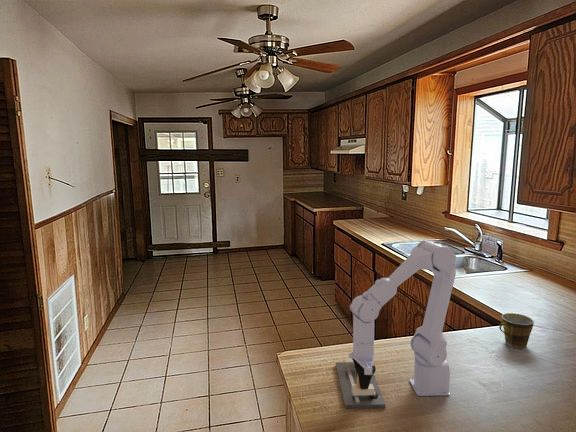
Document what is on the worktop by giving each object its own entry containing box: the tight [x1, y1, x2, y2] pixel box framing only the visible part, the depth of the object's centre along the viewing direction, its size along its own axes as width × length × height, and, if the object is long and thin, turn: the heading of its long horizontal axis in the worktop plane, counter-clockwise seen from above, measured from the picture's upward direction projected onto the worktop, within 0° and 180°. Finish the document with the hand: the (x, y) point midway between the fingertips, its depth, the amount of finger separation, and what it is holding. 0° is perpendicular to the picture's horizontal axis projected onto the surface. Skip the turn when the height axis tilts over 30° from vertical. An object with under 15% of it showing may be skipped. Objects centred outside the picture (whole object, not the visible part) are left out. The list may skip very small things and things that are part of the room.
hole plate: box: [335, 357, 386, 410], centre depth 117 cm, size 11×22×4 cm, turn 0°
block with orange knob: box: [352, 373, 375, 395], centre depth 109 cm, size 7×3×6 cm, turn 90°
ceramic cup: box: [499, 312, 535, 350], centre depth 139 cm, size 13×10×10 cm
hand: (362, 384), depth 109 cm, fingers closed on block with orange knob, 3 cm apart
